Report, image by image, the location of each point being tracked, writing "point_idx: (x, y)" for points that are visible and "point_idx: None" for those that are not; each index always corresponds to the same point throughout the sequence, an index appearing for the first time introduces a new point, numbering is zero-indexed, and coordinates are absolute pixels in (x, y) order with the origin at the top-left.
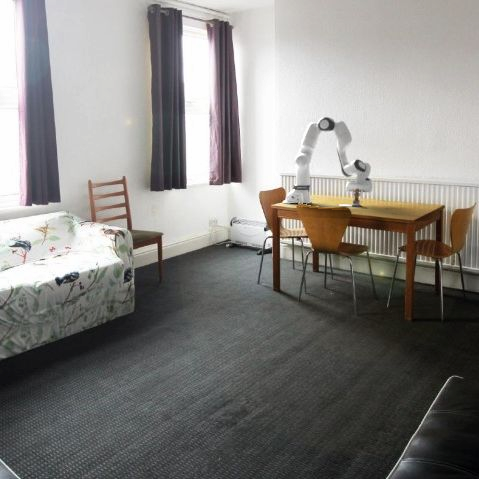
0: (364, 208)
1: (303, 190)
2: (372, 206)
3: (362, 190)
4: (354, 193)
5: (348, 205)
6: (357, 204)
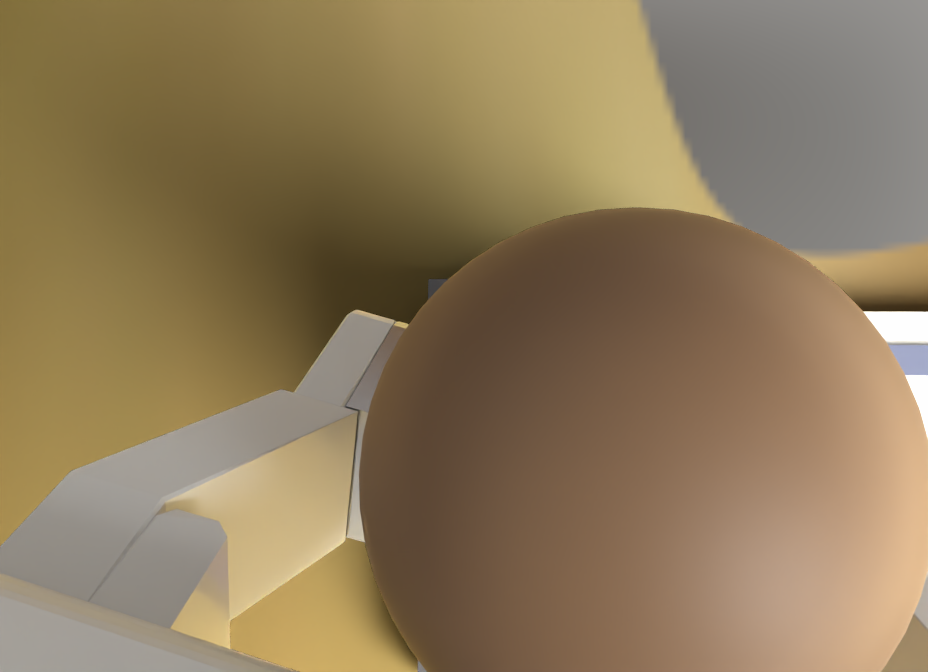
0: (269, 53)
1: None
2: None
3: (4, 556)
4: None
5: None
6: None
